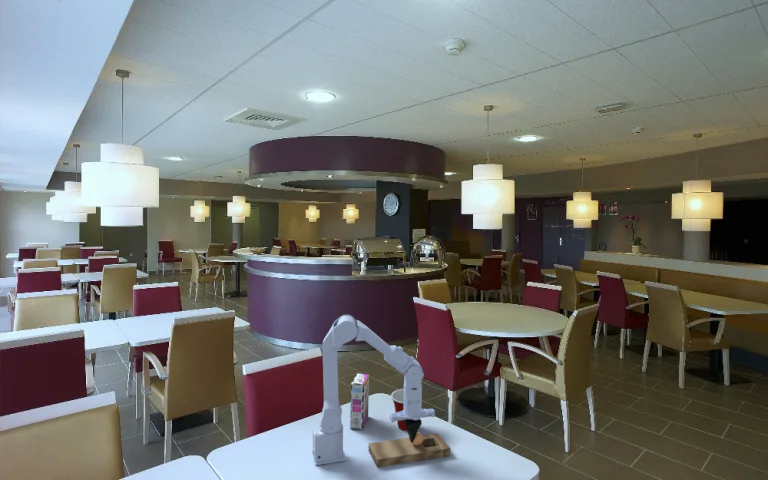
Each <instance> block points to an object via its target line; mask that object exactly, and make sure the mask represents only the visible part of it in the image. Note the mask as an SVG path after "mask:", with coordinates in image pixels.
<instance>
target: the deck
mask: <svg viewBox="0 0 768 480" xmlns="http://www.w3.org/2000/svg"><path fill="white" fill-rule="evenodd" d="M422 436H423V442H422V443H421V444H420V445H418V446H416V445H414V444H412V443H411V441H410V439H409V436H408V437H403V438H397V439H388V440H382V441H381V440H380V441H376V442H368V452H369V455H370V457H371V458H372V461H373V463H374V464H375V466H376V468H378V469H379V468H385V467H391V466H395V465H403V464H409V463H414V462H415V463H416V462H421V461H422V462H423V461H427V460H434V459H440V458H445V457H450V456H451V447H450V445H448V444H447V443H446V441H445V440H444V439H443V438H442V437H441V435H440V434H439V433H431V434H422Z"/></svg>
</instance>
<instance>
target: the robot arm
mask: <svg viewBox="0 0 768 480" xmlns="http://www.w3.org/2000/svg"><path fill="white" fill-rule="evenodd" d="M354 339H355V342H360V341H361V342H362V341H363V342H364V341H365V342H366V343H367V344H368V345H370V346H371V347H373V349H375V350H377V351H379V352H380V353H381V354H383V359H384V361H385V362H386V363H387V364H389V365H390V366H392V368H394V369H395V370H396V371H398V372H399V373H401V374H404V378H403V379H404V381H403V389H404V410H403V411H400V412H397V413H396V412H393V413H390V414H389V422H390V423H395V422H397V421H401V420H404V422H405V425H406V427H407V430H406V431H407V433H408V437H409V439H410V441H411V443H413V441H414V439H415V437H416V434H417V432H419V429H420V427H421V426H422V423H423V422H422V420H421V418H429V417H431V418H435V417H436V415H435V414H436V411H435V409H433V408H422V405H423V404H422V403H423V402H422V399H423V397H422V396H423V395H422V393H423V389H422V388H423V385H422V381H423V379H424V377H425V374H424V370H423V368H422V366H421V364H420V363H419V362H418V360H417V359H416V358H415V357H413V356H410V355H408V354H407V353H406V352H405V351H404V349H403V347H401V346H400V345H399V346H397V345H389V343H387V342H386V341H385V340H383V339H382V338H381V337H380V336H379V335H377V333H375V332H374V331H373V330H371V328H369V327H368V326H367V325H366V324H364V323H363V322H362V321H361V320H358V319H355V317H354V316H353V315H351V314H343V315H341V316H339V317H338V318H337V319H336V320H334V322H333V323H332V325H331V328H329V331H328V332H327V334H326V335H325V337H324V339H323V341H322V346H321V347H322V374H323V376H322V377H323V379H322V380H323V383H322V384H323V407H322V410H321V419H320V426H319V428H317V429H314V430H313V431H312V450H311V451H312V456H313V460H314V464H315V466H320V465H327V464H333V463H341V462H345V461H347V457H346V454H345V452H344V425H343V423H342V411H343V410H342V407H341V405H340V401H339V373H338V367H339V366H338V350H339V349H340V348H341V347H342V346H343V345H344V344H347V343H349V342H352V340H354Z"/></svg>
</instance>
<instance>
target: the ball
mask: <svg viewBox="0 0 768 480" xmlns="http://www.w3.org/2000/svg"><path fill="white" fill-rule="evenodd" d="M422 435H423V434H422V433H420V432H419V431H417V434H416V437H415V439H414V441H413V443H412V444H414V445H416V446H418V445H420V444H421V443H422V442H423V436H422Z"/></svg>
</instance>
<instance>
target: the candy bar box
mask: <svg viewBox="0 0 768 480" xmlns="http://www.w3.org/2000/svg"><path fill="white" fill-rule="evenodd" d="M369 389H370V374H368V373H356V375H355V377H354V378H353V379H352V381H351V383H350V418H349V419H350V422H349V423H350V426H349V428H350V429H351V430H361V431H362V430H364V427H365V424H366V422H367V420H368V418H369V397H370V395H369V394H370V393H369Z"/></svg>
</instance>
